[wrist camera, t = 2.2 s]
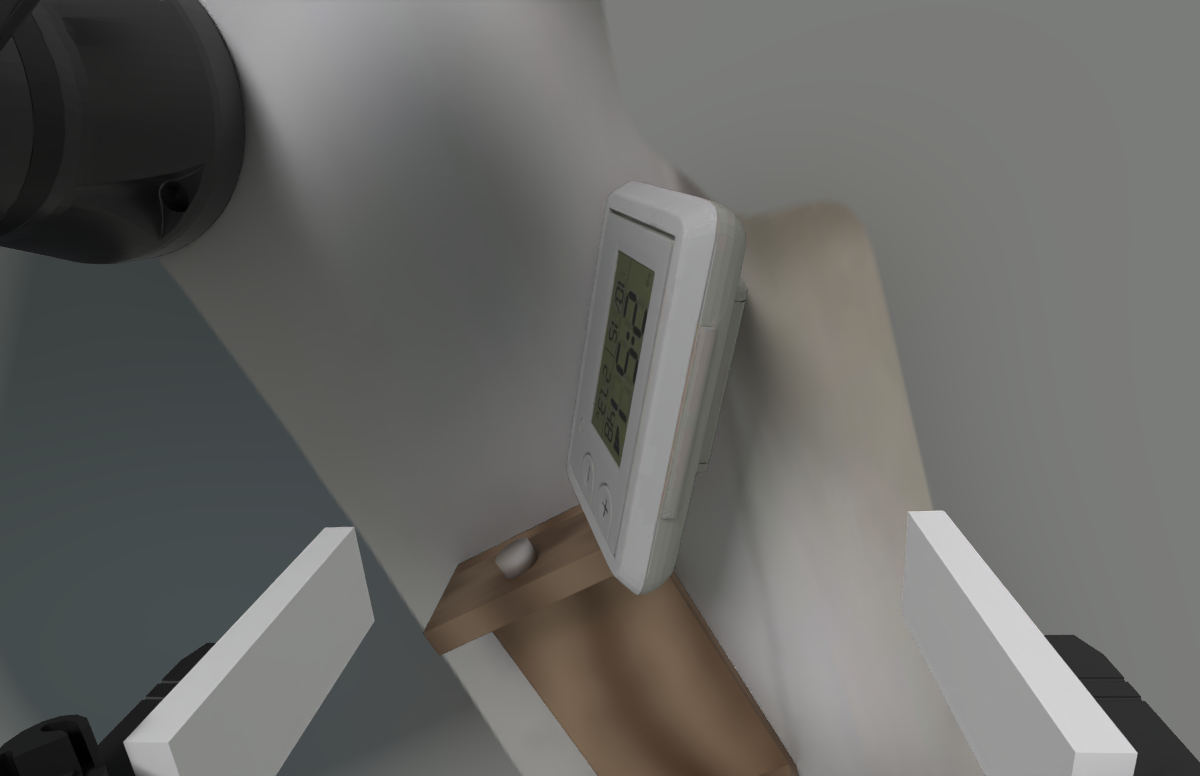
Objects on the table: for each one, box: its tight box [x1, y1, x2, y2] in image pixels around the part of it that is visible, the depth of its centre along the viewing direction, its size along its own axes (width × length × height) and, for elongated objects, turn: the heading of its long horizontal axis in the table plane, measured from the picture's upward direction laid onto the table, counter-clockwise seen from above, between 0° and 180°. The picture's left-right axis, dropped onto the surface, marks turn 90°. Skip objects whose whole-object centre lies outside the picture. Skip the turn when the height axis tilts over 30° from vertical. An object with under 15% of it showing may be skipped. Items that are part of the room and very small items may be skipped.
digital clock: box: [567, 181, 748, 595], centre depth 30 cm, size 16×9×11 cm, turn 160°
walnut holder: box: [423, 504, 798, 776], centre depth 38 cm, size 11×24×6 cm, turn 31°
